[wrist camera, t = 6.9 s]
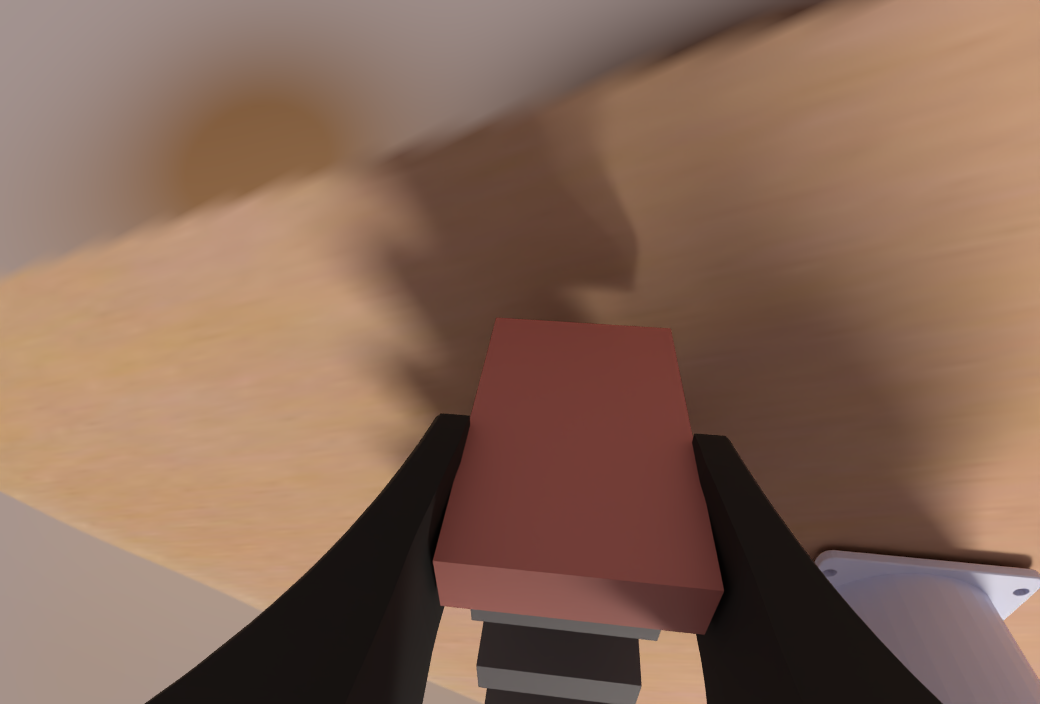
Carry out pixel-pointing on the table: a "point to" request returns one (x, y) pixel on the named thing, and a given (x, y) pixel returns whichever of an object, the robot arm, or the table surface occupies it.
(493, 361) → the red domino
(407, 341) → the table surface
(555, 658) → the domino
